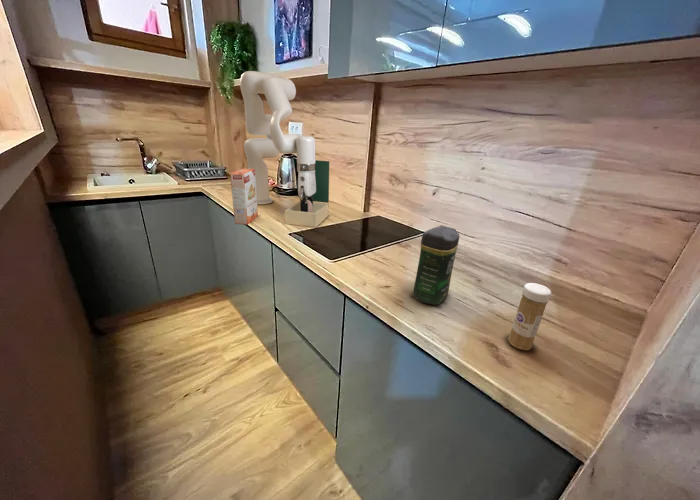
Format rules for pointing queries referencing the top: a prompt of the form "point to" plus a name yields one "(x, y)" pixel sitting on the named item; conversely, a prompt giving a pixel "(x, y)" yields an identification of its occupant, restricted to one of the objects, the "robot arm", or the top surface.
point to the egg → (310, 206)
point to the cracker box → (244, 195)
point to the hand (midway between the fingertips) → (306, 209)
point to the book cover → (321, 181)
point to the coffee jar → (435, 264)
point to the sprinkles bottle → (529, 315)
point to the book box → (306, 215)
